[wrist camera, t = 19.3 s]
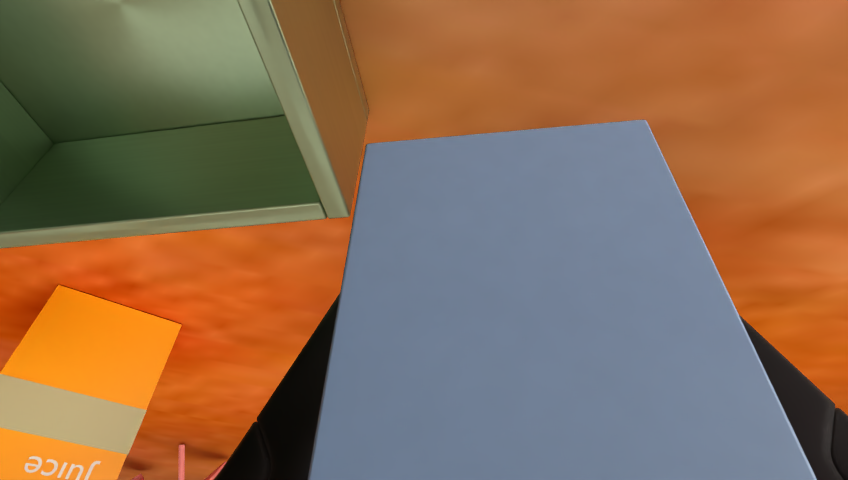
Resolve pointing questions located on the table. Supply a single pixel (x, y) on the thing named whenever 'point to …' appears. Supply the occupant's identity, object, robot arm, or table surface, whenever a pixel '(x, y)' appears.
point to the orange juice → (79, 388)
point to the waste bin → (174, 116)
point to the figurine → (182, 467)
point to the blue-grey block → (539, 322)
